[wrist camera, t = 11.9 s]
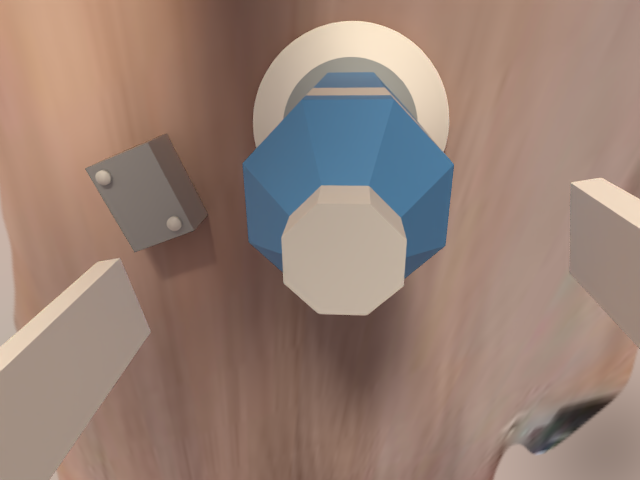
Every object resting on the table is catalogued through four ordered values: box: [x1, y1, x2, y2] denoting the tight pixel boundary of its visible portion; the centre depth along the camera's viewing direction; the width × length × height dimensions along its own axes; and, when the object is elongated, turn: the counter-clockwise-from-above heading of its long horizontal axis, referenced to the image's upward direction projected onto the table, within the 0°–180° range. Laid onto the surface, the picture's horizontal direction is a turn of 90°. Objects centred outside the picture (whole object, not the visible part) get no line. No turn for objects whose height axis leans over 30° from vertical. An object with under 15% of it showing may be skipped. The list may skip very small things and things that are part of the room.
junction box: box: [85, 134, 208, 252], centre depth 40 cm, size 8×6×4 cm
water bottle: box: [243, 72, 454, 315], centre depth 26 cm, size 9×9×25 cm
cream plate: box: [253, 21, 449, 152], centre depth 38 cm, size 16×16×1 cm
